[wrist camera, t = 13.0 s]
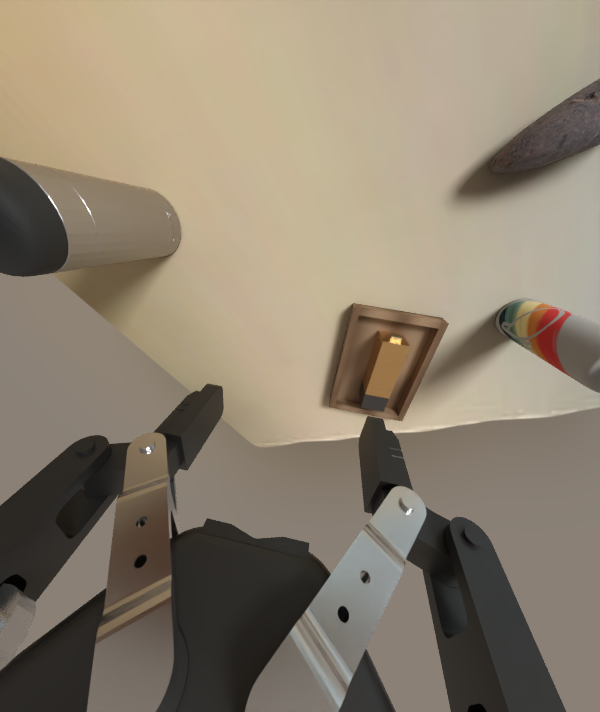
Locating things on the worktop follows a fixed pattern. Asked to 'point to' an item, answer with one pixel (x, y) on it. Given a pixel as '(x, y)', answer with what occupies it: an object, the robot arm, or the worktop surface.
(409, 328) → the brown wooden tray
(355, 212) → the worktop surface
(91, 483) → the robot arm
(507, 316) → the lotion bottle
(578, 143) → the perforated stone tool
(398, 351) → the battery cell
